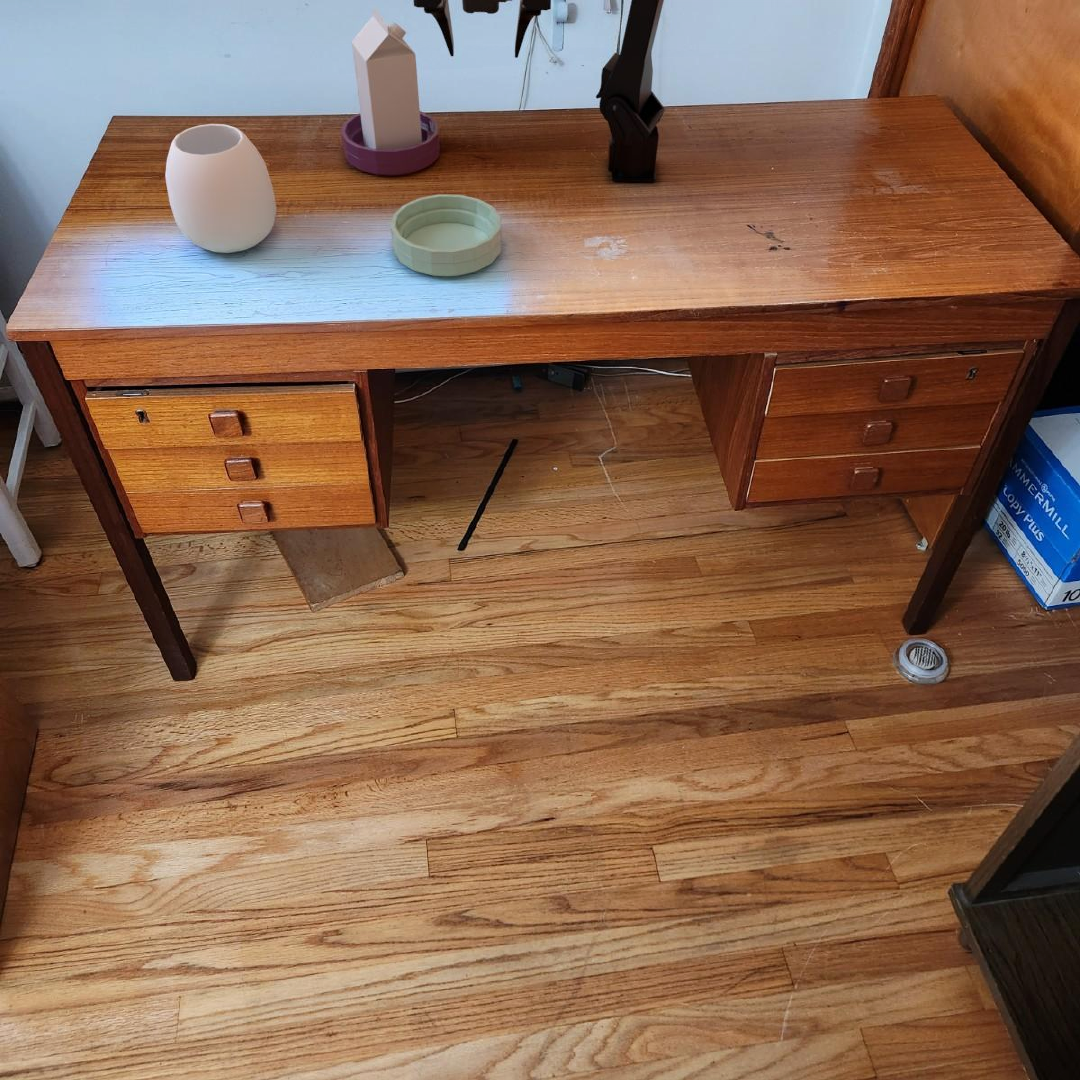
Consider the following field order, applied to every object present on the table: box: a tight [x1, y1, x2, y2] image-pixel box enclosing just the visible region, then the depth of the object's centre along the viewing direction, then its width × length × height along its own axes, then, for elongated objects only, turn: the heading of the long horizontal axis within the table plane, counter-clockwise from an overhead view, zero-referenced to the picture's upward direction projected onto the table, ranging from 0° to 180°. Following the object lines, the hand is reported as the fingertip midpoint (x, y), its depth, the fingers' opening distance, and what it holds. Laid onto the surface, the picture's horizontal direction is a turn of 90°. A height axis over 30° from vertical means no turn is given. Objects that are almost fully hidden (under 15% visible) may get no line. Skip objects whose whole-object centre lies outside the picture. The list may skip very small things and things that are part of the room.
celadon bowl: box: [390, 193, 502, 277], centre depth 126 cm, size 14×14×4 cm
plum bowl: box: [340, 110, 441, 177], centre depth 143 cm, size 14×14×4 cm
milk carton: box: [351, 7, 422, 150], centre depth 137 cm, size 7×7×19 cm
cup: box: [164, 123, 278, 254], centre depth 123 cm, size 13×13×14 cm
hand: (484, 56), depth 138 cm, fingers open, 9 cm apart
